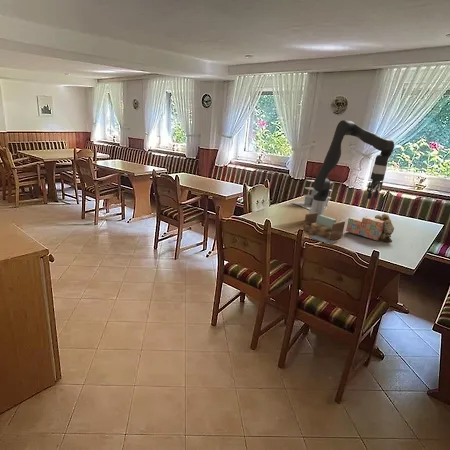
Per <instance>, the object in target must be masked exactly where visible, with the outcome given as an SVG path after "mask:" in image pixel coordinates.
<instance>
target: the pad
mask: <svg viewBox="0 0 450 450" xmlns="http://www.w3.org/2000/svg"><path fill="white" fill-rule="evenodd" d="M308 238H309V239H312V240H315V241H317V242H320V243H322V242H325V243H330V245H333V244H336V243H337V242H336V241H335V240H329V239H327V238H324V237H321V236H319V235H315V234H313V235H310V236H309V237H308Z"/></svg>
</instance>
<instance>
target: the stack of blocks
mask: <svg viewBox="0 0 450 450" xmlns="http://www.w3.org/2000/svg"><path fill="white" fill-rule="evenodd" d="M384 222H385V221H382V220H380V219H375V217H371V216H368V215H367V216H362V218H358V217H354V216H351V217H348V219H347V223H346V230H345V231H346V232H349V233H352V234H354V235H358V236H362V237H364V238H368V239H371V240H374V241H377V240H379V238H380V236H381V235H382V231H383V227H384Z"/></svg>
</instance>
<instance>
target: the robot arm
mask: <svg viewBox="0 0 450 450" xmlns="http://www.w3.org/2000/svg"><path fill="white" fill-rule="evenodd" d="M346 136H352V137H356V138H358V139H359V140H360V141H362V142H363V143H365V144H367V145H369V146H370V147H371V146H372V147H373V148H374V149H375V150H378V151H380V153H379V154H377V155H376V157H375V160H374V163H373V167H372V170H371V175H370V177H369V178H370V180H372V181H369V182H368V183H367V188H366V192H367V196H366V197H367V199H368V200H371V199H372V196H373V198H376V199H378V197H379V193H380V192H381V191H382V189H383V183H384V181H385V180H384V179H385V175H386V173H387V172H386V171H387V166H388V163H389V158H390V157H391V156H392V154H393V151H394V149H395V148H394V147H395V142H394V140H393V139H390V138H389V139H388V138H382V137H381V136H380V135H378V134H377V133H374V132H371V131H370V130H368V129H367V130H366V129H364V128H362V127H361V126H359V125H358V124H356V123H355V122H353V121H351V120H345V119H344V120H340V121H339V122H338V123H337V125H336V128H335V130H334V135H333V137H332V141H331V142H330V146H329V148H328V151H327V152H326V155H325V157H324V161H323V162H322V166H321V167H320V170H319V172H318V173H317V175H316V177H315V179H314V180H315V181H314V182H313V186H312V187H314V190H316V191H318V193H317V194H315V195H314V197H313V202H312V208H311V209H310V210H309V213H308V214H310V213H316V212H317V213H318V215H317V220H316V223H317V222H318V216H319V215H323V216H324V213H325V209H324V208H325V207H326V206H325V203H326V199H327V197H329V196H328V194H329V195H330V191H329V190H331V185H330V182H331V180H329V178H328V176H329V174H330V173H331V172H332V170H334V168H335V167H336V166H337V165H338V163H339V161H340V159H341V157H342V142H343V139H344V137H346ZM373 193H374V194H373Z"/></svg>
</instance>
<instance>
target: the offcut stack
mask: <svg viewBox="0 0 450 450" xmlns="http://www.w3.org/2000/svg"><path fill="white" fill-rule="evenodd" d="M311 226H312V227H314V228H317V229H320V230H323V231H326V232H328V233H331V231H330V230H331V228H329V227H326V226H323V225H321V224H318V223H317V222H316V223H312V224H311Z"/></svg>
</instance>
